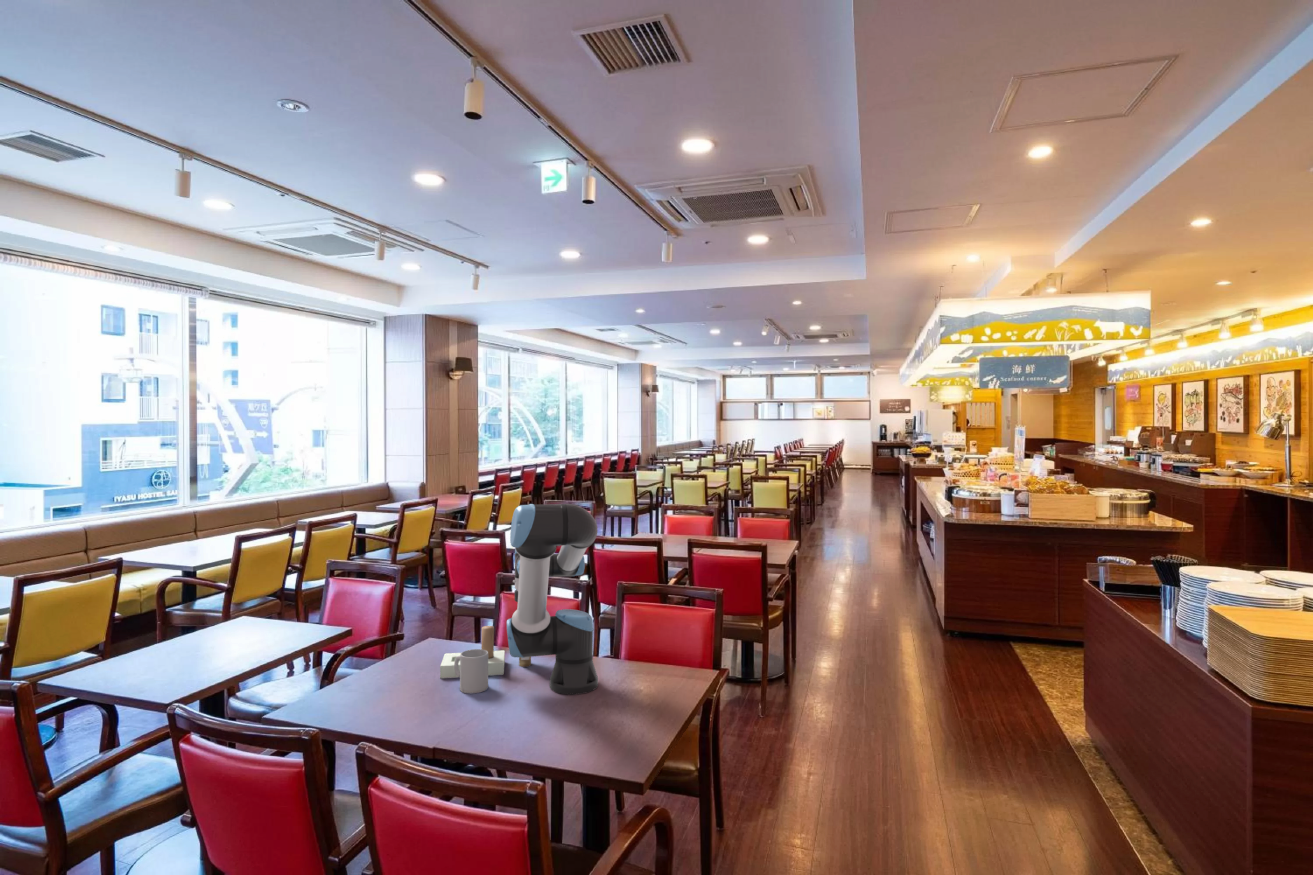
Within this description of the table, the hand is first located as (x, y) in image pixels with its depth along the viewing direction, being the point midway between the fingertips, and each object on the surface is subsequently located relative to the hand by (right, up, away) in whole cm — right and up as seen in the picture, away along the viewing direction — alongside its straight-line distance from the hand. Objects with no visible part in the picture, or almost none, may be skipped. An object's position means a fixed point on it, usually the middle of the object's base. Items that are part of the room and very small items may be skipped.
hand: (525, 657), depth 229 cm
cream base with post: (-16, -3, -5) cm, 17 cm away
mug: (-13, -3, -21) cm, 25 cm away
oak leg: (0, -3, 0) cm, 3 cm away
